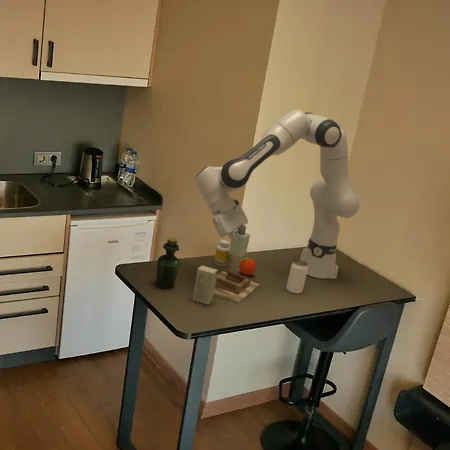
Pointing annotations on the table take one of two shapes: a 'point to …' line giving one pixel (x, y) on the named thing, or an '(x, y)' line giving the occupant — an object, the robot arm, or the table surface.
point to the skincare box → (205, 285)
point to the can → (297, 276)
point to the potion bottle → (168, 265)
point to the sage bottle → (240, 243)
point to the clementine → (247, 266)
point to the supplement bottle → (222, 253)
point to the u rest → (233, 286)
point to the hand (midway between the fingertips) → (241, 240)
